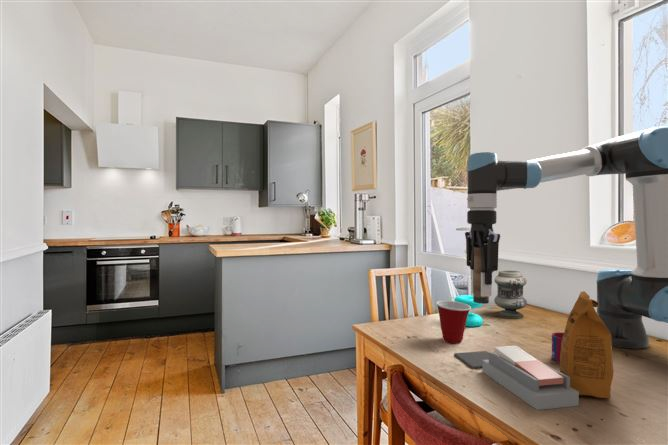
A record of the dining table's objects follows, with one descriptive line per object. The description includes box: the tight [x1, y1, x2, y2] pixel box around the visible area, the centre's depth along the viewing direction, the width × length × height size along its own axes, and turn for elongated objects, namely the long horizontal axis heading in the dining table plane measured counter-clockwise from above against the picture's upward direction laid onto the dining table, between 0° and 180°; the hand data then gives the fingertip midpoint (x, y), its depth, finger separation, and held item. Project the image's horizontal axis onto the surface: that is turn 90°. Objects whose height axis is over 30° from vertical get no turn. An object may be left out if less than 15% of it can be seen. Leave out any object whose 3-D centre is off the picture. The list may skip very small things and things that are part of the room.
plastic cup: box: [436, 300, 472, 344], centre depth 124 cm, size 11×11×12 cm
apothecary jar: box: [493, 269, 528, 319], centre depth 155 cm, size 12×12×18 cm
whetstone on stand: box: [482, 351, 580, 411], centre depth 90 cm, size 10×20×6 cm, turn 11°
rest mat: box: [453, 350, 489, 370], centre depth 107 cm, size 10×10×1 cm
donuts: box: [453, 294, 484, 328], centre depth 143 cm, size 10×10×10 cm
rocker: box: [493, 345, 564, 386], centre depth 90 cm, size 16×6×1 cm, turn 11°
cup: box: [551, 331, 564, 364], centre depth 106 cm, size 7×10×7 cm
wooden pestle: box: [472, 247, 490, 305], centre depth 106 cm, size 4×4×15 cm
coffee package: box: [559, 291, 615, 399], centre depth 89 cm, size 10×12×22 cm
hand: (481, 294), depth 106 cm, fingers closed on wooden pestle, 4 cm apart
